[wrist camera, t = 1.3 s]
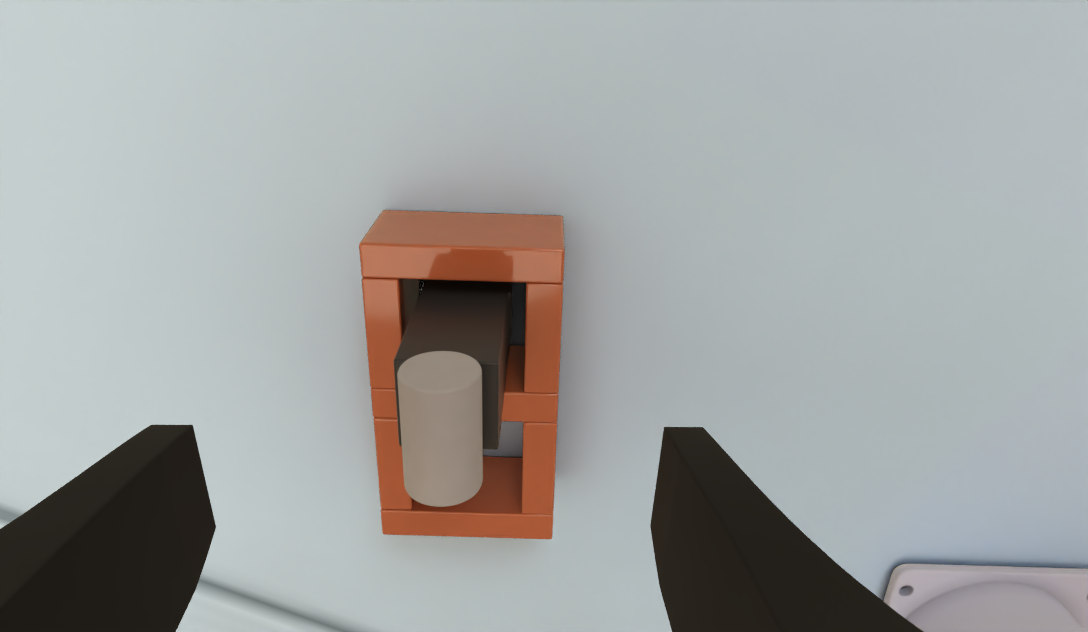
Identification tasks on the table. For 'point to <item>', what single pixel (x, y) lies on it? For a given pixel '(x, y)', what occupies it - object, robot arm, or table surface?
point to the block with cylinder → (452, 387)
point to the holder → (532, 373)
